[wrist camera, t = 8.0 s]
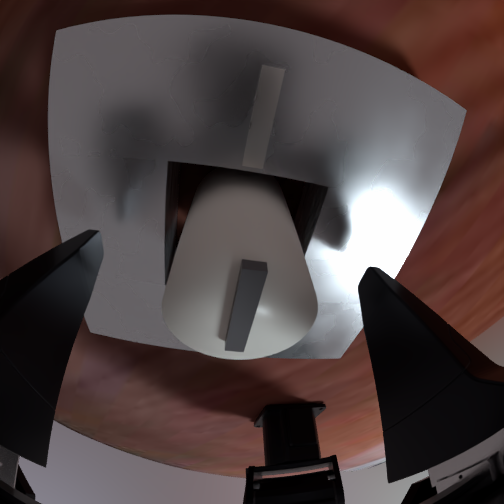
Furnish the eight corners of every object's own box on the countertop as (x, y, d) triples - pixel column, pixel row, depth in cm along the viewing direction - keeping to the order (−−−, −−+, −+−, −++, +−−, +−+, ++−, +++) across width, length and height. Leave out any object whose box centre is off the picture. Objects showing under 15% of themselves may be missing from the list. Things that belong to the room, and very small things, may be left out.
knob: (273, 248, 13) (293, 370, 8) (190, 237, 12) (163, 359, 7) (294, 171, 10) (346, 276, 5) (198, 156, 10) (155, 253, 5)
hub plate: (330, 325, 16) (340, 361, 14) (104, 299, 14) (89, 335, 12) (429, 98, 8) (470, 111, 6) (91, 34, 6) (52, 30, 4)
